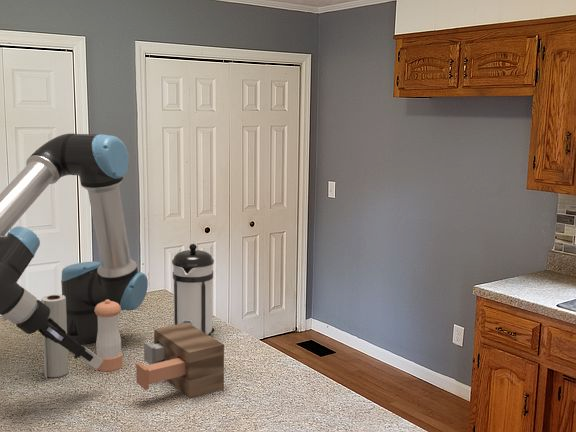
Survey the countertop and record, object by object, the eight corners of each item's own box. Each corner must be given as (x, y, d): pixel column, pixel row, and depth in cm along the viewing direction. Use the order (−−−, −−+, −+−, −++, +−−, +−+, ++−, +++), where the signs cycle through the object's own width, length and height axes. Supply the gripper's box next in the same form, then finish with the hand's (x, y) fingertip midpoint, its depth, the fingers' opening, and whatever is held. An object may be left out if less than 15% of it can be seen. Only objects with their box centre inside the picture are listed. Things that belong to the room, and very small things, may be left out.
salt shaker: (111, 359, 180) (109, 294, 177) (128, 365, 176) (126, 299, 173) (90, 367, 174) (87, 300, 171) (107, 373, 170) (105, 305, 167)
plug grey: (144, 360, 169) (143, 342, 168) (190, 349, 177) (190, 332, 176) (152, 366, 165) (151, 348, 164) (199, 355, 173) (199, 337, 172)
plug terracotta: (136, 382, 155) (136, 363, 154) (187, 369, 163) (187, 351, 162) (145, 390, 151) (144, 370, 150) (196, 376, 159) (196, 357, 158)
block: (154, 371, 173) (154, 329, 171) (187, 363, 179) (187, 322, 177) (189, 398, 157) (188, 352, 155) (223, 388, 163) (224, 344, 161)
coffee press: (228, 338, 198) (229, 245, 193) (181, 348, 189) (180, 251, 184) (203, 322, 212) (203, 235, 207) (158, 331, 203) (157, 240, 198)
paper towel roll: (62, 367, 174) (59, 292, 170) (72, 373, 170) (69, 297, 166) (36, 374, 169) (33, 297, 165) (46, 381, 165) (42, 302, 161)
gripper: (7, 317, 150) (80, 367, 162) (22, 333, 139) (98, 386, 152) (30, 292, 152) (99, 344, 165) (46, 306, 142) (118, 360, 154)
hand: (98, 364), depth 158 cm, fingers closed
